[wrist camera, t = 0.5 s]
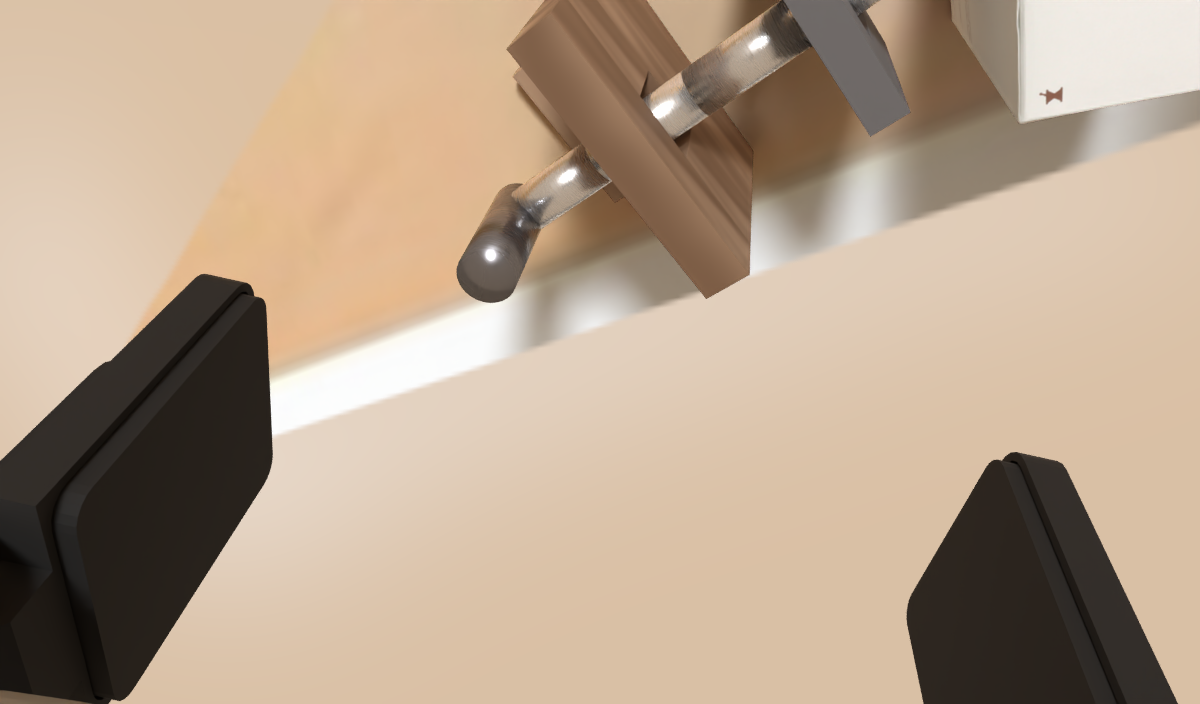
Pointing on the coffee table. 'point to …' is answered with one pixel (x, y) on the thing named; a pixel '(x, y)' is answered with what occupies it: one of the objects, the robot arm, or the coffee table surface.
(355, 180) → the coffee table surface
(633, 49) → the bracket
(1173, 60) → the supplement box
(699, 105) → the shaft
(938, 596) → the robot arm
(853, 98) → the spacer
